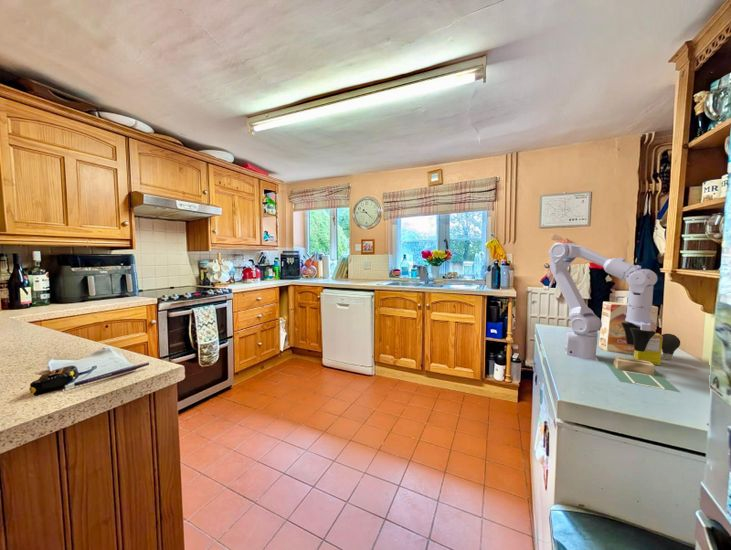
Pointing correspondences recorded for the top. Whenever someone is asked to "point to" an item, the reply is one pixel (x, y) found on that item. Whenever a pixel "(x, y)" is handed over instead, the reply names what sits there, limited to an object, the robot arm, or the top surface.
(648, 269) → the robot arm
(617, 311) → the coffeecake box
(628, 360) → the slotted wooden block
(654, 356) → the supplement box
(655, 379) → the green mat
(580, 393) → the top surface
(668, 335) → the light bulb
